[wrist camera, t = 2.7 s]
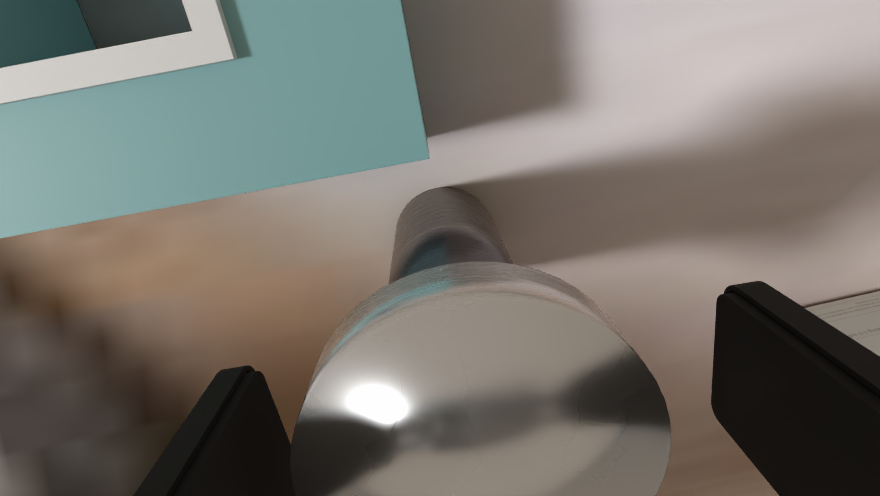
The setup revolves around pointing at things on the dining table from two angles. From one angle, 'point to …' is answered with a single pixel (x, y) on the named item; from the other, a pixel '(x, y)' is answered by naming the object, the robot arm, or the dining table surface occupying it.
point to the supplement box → (854, 318)
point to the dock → (197, 106)
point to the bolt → (476, 379)
